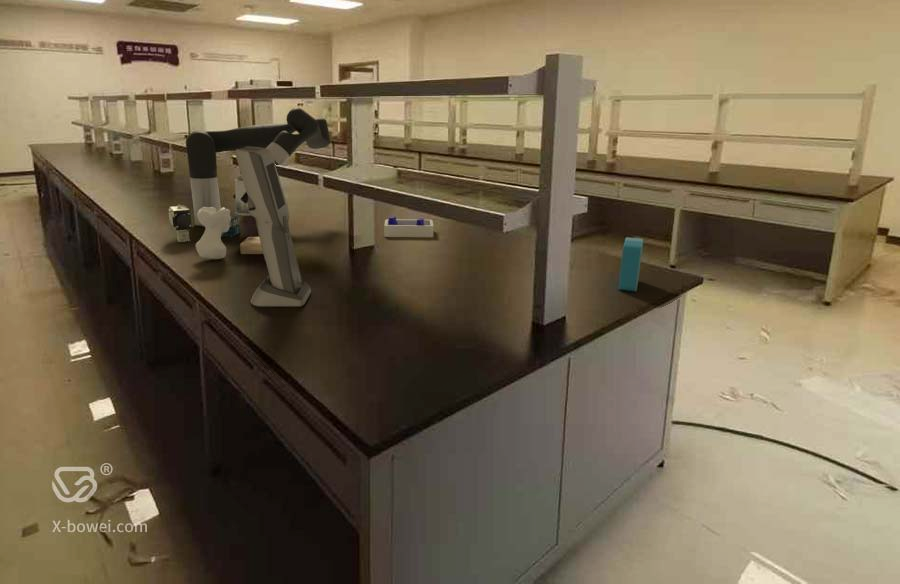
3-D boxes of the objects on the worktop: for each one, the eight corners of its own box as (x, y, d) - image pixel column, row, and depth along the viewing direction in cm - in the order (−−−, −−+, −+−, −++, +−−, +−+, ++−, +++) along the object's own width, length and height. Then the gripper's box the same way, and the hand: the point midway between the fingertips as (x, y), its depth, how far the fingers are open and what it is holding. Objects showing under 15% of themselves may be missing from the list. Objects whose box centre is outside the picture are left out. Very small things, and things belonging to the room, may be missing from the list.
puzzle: (241, 233, 203) (239, 216, 201) (233, 237, 197) (231, 219, 195) (224, 232, 203) (222, 215, 201) (216, 236, 198) (214, 219, 196)
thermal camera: (259, 291, 143) (246, 145, 132) (312, 291, 144) (304, 146, 133) (246, 307, 132) (231, 150, 121) (303, 307, 133) (293, 151, 122)
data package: (621, 278, 160) (626, 236, 157) (638, 280, 159) (643, 237, 155) (617, 291, 150) (623, 245, 146) (636, 293, 148) (642, 247, 144)
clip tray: (385, 230, 212) (385, 219, 211) (432, 230, 213) (432, 219, 212) (384, 237, 202) (384, 225, 200) (433, 237, 203) (433, 226, 202)
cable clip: (424, 234, 208) (425, 217, 206) (421, 237, 204) (421, 220, 202) (393, 231, 211) (393, 215, 209) (388, 234, 206) (388, 217, 205)
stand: (249, 245, 186) (248, 236, 185) (281, 246, 186) (280, 236, 185) (240, 253, 176) (239, 243, 175) (274, 253, 177) (273, 243, 176)
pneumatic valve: (188, 236, 196) (184, 201, 192) (194, 244, 186) (190, 207, 182) (170, 238, 193) (165, 202, 189) (175, 246, 183) (170, 208, 180)
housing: (238, 212, 190) (235, 174, 186) (257, 212, 190) (255, 175, 187) (233, 215, 184) (230, 177, 180) (253, 216, 185) (250, 177, 181)
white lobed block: (190, 261, 167) (184, 209, 162) (219, 252, 177) (213, 203, 172) (217, 265, 164) (211, 212, 159) (244, 256, 174) (239, 206, 169)
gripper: (290, 170, 186) (257, 211, 182) (270, 165, 196) (238, 204, 192) (273, 154, 181) (239, 195, 177) (254, 150, 191) (221, 189, 187)
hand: (239, 200), depth 185 cm, fingers closed on housing, 5 cm apart
